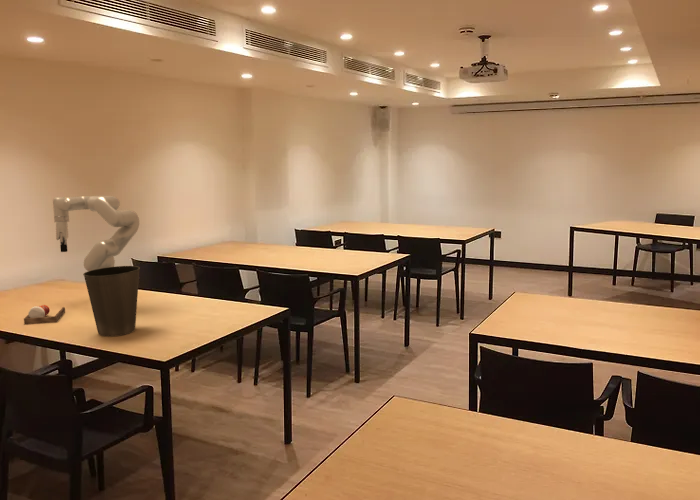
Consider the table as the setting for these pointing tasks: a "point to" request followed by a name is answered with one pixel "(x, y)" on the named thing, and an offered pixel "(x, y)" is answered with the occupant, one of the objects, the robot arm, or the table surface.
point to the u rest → (44, 318)
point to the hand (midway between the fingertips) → (64, 251)
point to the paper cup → (38, 311)
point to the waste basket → (113, 298)
